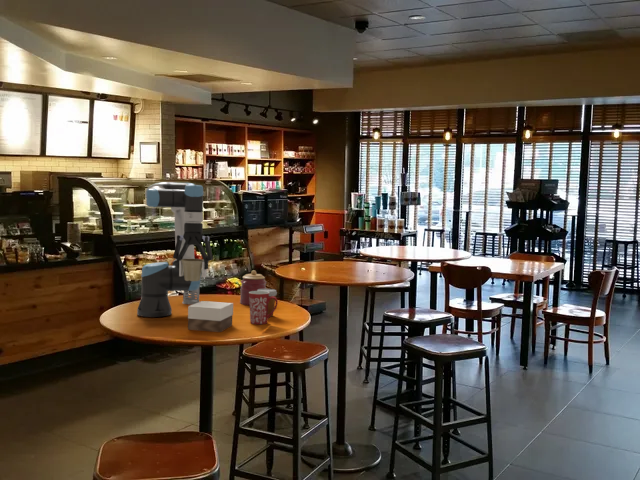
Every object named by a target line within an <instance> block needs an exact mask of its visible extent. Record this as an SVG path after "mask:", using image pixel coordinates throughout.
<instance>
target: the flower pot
mask: <svg viewBox="0 0 640 480" xmlns="http://www.w3.org/2000/svg"><path fill="white" fill-rule="evenodd" d="M181 261H182V264H183V269H184V278H185V280H186V281H189V280H190V281H199V280H200V276H201V277H202V273H201V270H202V262H204V260H203V258H202V259H201V258H195V259H181Z"/></svg>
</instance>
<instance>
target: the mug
mask: <svg viewBox="0 0 640 480" xmlns="http://www.w3.org/2000/svg"><path fill="white" fill-rule="evenodd" d="M272 298H273V299H275V305H274V309H273V311H272V312H271V313H270V314H269V315H268V303H269V301H270V300H271V299H272ZM249 299H250V305H249V321H250V322H249V323H250V324H251V325H252V324H253V325H266V324H267V323H268V319H269V318H271V317H270V316H271V315H272V313H273V314H274V312H275V311H276V310H277V307H278V299H277V297H273V296H272V297H269V292H267V291H251V292H249Z"/></svg>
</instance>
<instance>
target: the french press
mask: <svg viewBox="0 0 640 480" xmlns="http://www.w3.org/2000/svg"><path fill="white" fill-rule="evenodd" d="M180 293H181V294H182V295H183V297H182V303H181V304H183V305H193V304H196V303H198V302H200V287H199V288H198V289H197V290H191V291H180Z"/></svg>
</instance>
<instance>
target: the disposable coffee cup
mask: <svg viewBox="0 0 640 480" xmlns="http://www.w3.org/2000/svg"><path fill="white" fill-rule="evenodd" d="M257 291H267V292H269V297H272V296H273V297H276V296H277V294H278V292H277V289H273V288H266V289H258V290H257ZM276 298H277V297H276ZM275 305H276V301H275V299H273V298H272V299H271V300H270V301H269V303H268V315H269V314H270V313H271V312H272V311H273V309H274V308H275ZM273 316H274V312H273V313H272V315H271V316H270V317H269V318H271V317H273Z"/></svg>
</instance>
